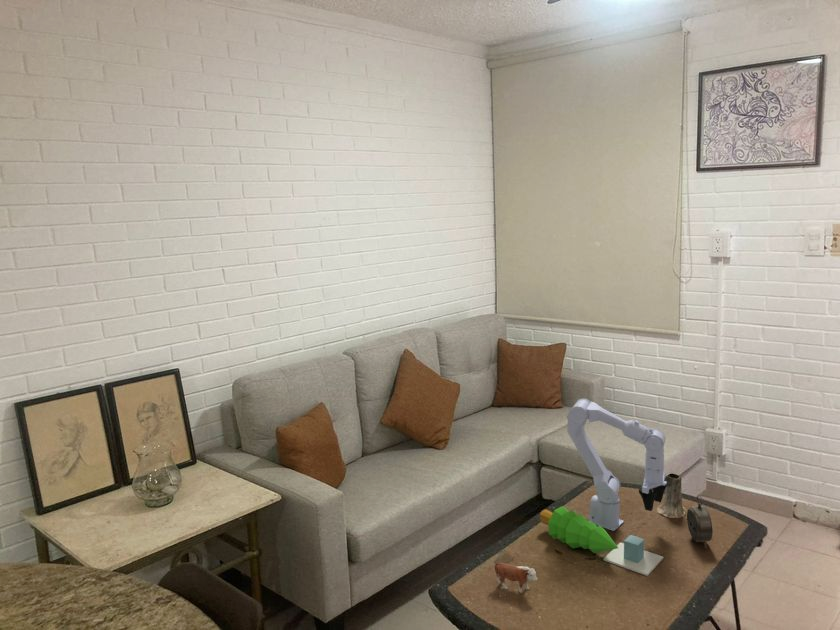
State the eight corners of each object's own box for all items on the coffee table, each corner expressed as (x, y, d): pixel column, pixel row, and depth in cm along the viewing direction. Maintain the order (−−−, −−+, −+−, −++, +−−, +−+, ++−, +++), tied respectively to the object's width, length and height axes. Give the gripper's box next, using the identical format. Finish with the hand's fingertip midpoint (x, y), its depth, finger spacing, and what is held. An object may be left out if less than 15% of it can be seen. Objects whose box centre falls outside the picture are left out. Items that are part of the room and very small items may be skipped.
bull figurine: (535, 600, 189) (535, 574, 188) (492, 586, 196) (492, 561, 195) (541, 592, 193) (541, 566, 191) (499, 579, 200) (498, 554, 198)
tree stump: (658, 517, 232) (659, 481, 230) (655, 504, 242) (657, 469, 239) (688, 519, 230) (690, 483, 227) (685, 506, 239) (686, 471, 237)
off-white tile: (603, 560, 207) (603, 558, 207) (620, 544, 216) (620, 542, 216) (647, 576, 198) (647, 574, 198) (663, 558, 207) (663, 556, 207)
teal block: (623, 558, 207) (624, 540, 206) (629, 552, 210) (630, 534, 209) (637, 563, 204) (638, 545, 203) (643, 556, 207) (644, 539, 206)
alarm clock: (712, 551, 210) (715, 503, 207) (695, 551, 210) (697, 503, 207) (699, 533, 221) (701, 487, 218) (683, 533, 221) (684, 487, 218)
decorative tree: (549, 493, 227) (624, 522, 203) (558, 517, 231) (633, 549, 208) (528, 515, 221) (602, 548, 198) (538, 540, 226) (612, 575, 202)
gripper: (657, 478, 211) (656, 517, 213) (675, 462, 221) (673, 500, 224) (636, 472, 215) (635, 511, 218) (654, 457, 226) (653, 495, 229)
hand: (653, 505), depth 221 cm, fingers open, 7 cm apart
